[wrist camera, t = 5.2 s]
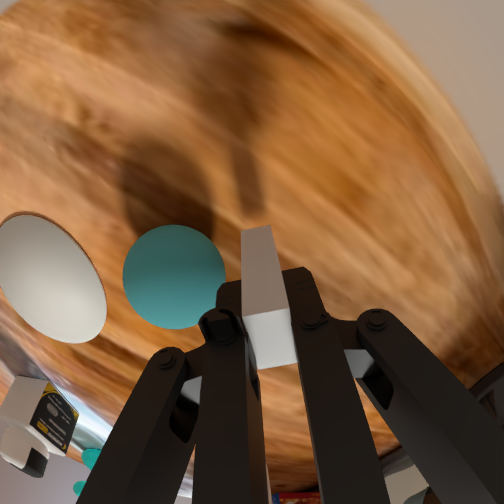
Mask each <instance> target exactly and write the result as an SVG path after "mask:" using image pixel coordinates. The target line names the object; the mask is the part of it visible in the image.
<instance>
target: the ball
mask: <svg viewBox="0 0 504 504" xmlns="http://www.w3.org/2000/svg"><path fill="white" fill-rule="evenodd" d="M225 279H226V275H225V268H224V263H223V260H222V257H221V255H220V253H219V251H218V249H217V248H216V246H215V245H214V244H213V243H212V242H211V240H210V239H208V238H207V237H206V236H205V235H204V234H202V233H201V232H199V231H197V230H195V229H193V228H190V227H187V226H182V225H164V226H160V227H157V228H155V229H152V230H150V231H148V232H147V233H145V234H144V235H142V236H141V237H140V238H139V239H138V240H137V241H136V242H135V243H134V244H133V246H132V247H131V249H130V250H129V252H128V254H127V257H126V259H125V262H124V267H123V286H124V290H125V293H126V296H127V298H128V301H129V302H130V304H131V306H132V307H133V309H134V310H135V311H136V312H137V313H138V314H139V315H140V316H141V317H142V318H143V319H145V320H146V321H148V322H149V323H151V324H153V325H156V326H158V327H162V328H166V329H183V328H188V327H191V326H194V325H196V324H198V321H199V319H200V317H201V316H202V315H203V314H204V313H205V312H207V311H209V310H210V309H213V308H215V303H216V294H217V290H218V289H219V287H220V286H221V284H222V283H225Z"/></svg>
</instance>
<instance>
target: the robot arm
mask: <svg viewBox="0 0 504 504" xmlns="http://www.w3.org/2000/svg"><path fill="white" fill-rule="evenodd" d="M198 325H199V327H200V329H201V332H202V334H203V336H204V338H205V341H206V342H205V344H203V345H202V346H200V347H198V348H196V349H194V350H191V351H189V352H186V353H184V352H183V351H182V350H181V349H180V348H176V347H166V348H163V349H161V350H159V351H158V352H156V353H155V354H154V355H153V356H152V357H151V359H150V360H149V362H148V364H147V366H146V367H145V369H144V371H143V373H142V375H141V376H140V378H139V380H138V382H137V384H136V386H135V387H134V389H133V391H132V393H131V395H130V397H129V399H128V400H127V402H126V404H125V406H124V408H123V410H122V412H121V414H120V415H119V417H118V419H117V421H116V423H115V425H114V427H113V429H112V431H111V433H110V435H109V437H108V439H107V441H106V442H105V444H104V446H103V448H102V450H101V452H100V454H99V456H98V458H97V460H96V462H95V464H94V466H93V468H92V470H91V473H90V475H89V477H88V479H87V481H86V483H85V485H84V487H83V489H82V491H81V493H80V495H79V498H78V500H77V502H76V504H174V502H175V499H176V497H177V494H178V491H179V488H180V486H181V483H182V480H183V477H184V474H185V472H186V469H187V466H188V463H189V460H190V458H191V455H192V452H193V449H194V446H195V444H196V446H195V459H194V474H193V491H192V504H269V499H268V486H267V472H266V459H265V446H264V432H263V419H262V405H261V392H260V381H259V378H258V375H257V367H258V369H265V368H271V367H277V366H282V365H288V364H293V363H298V369H299V375H300V382H301V386H302V391H303V396H304V402H305V407H306V413H307V419H308V424H309V430H310V436H311V441H312V447H313V453H314V459H315V465H316V471H317V477H318V484H319V490H320V496H321V503H322V504H390V499H389V495H388V492H387V488H386V484H385V480H384V476H383V473H382V469H381V465H380V462H379V458H378V455H377V451H376V448H375V445H374V441H373V438H372V435H371V431H370V428H369V425H368V421H367V418H366V415H365V412H364V409H363V406H362V403H361V400H360V396H359V393H358V390H357V387H356V384H355V381H354V378H355V379H356V381H357V382H358V384H359V385H360V387H361V388H362V389H363V391H364V392H365V394H366V395H367V397H368V398H369V399H370V401H371V402H372V404H373V405H374V406H375V408H376V409H377V411H378V412H379V414H380V415H381V416H382V418H383V419H384V421H385V422H386V424H387V425H388V426H389V428H390V429H391V431H392V432H393V434H394V435H395V436H396V438H397V439H398V441H399V442H400V444H401V445H402V447H403V448H404V449H405V451H406V452H407V454H408V455H409V457H410V458H411V460H412V461H413V462H414V464H415V465H416V467H417V468H418V469H419V471H420V472H421V474H422V475H423V477H424V478H425V480H426V481H427V483H428V484H429V487H427V488H426V489H424V490H423V491H421V492H419V493H417V494H415V495H413V496H411V497H409V498H408V499H407V500H406V501H405V502H404V504H504V364H502V365H500V366H499V367H497V368H496V369H495V370H493V371H492V372H491V373H489V374H488V375H487V376H486V377H484V378H483V379H482V380H481V381H480V382H478V383H477V384H476V385H475V386H474V387H473V388H472V389H471V390H470V391H468V390H467V389H466V388H465V386H464V385H463V384H462V383H461V382H460V381H459V380H458V379H457V378H456V377H455V376H454V375H453V374H452V373H451V372H450V371H449V370H448V368H447V367H446V366H445V365H444V364H443V363H442V362H441V361H440V360H439V359H438V358H437V357H436V356H435V355H434V354H433V353H432V352H431V351H430V350H429V349H428V348H427V347H426V346H425V345H424V344H423V343H422V342H421V341H420V340H419V339H418V338H417V337H416V336H415V335H414V334H413V333H412V332H411V331H410V330H409V329H408V328H407V327H406V326H405V325H404V324H403V323H402V322H401V321H400V320H399V319H398V318H396V317H395V316H394V315H393V314H392V313H390V312H389V311H387V310H384V309H370V310H367V311H365V312H363V313H362V314H360V316H359V317H358V319H357V321H346V320H339V319H335V318H333V317H331V316H330V315H329V313H327V312H326V310H325V308H324V305H323V303H322V300H321V297H320V295H319V292H318V289H317V287H316V284H315V282H314V279H313V276H312V274H311V272H310V271H309V270H307V269H306V268H305V267H299V268H294V269H289V270H284V271H281V268H280V264H279V260H278V255H277V251H276V247H275V243H274V238H273V234H272V230H271V226H270V225H267V226H262V227H257V228H252V229H247V230H242V231H241V280H237V281H231V282H226V283H222V284H221V286H220V287H219V289H218V290H217V294H216V303H215V308H213V309H210V310H209V311H207V312H205V313H204V314H203V315H202V316H201V317H200V319H199V321H198Z"/></svg>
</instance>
